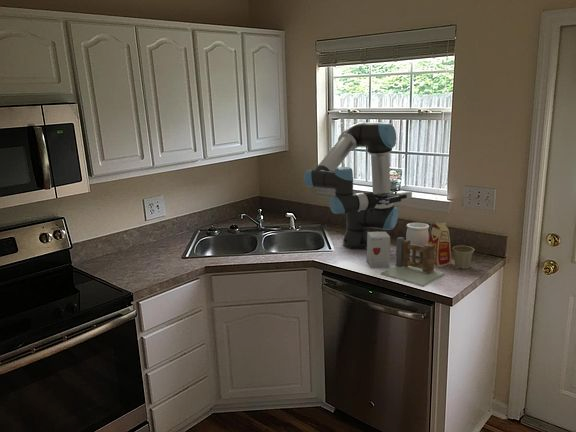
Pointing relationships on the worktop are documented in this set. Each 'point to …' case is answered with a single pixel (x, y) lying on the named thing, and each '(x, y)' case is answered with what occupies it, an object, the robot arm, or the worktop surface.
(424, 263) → the gate
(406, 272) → the gate frame
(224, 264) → the worktop surface
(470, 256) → the flower pot
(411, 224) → the jar
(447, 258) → the milk carton
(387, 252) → the supplement box
